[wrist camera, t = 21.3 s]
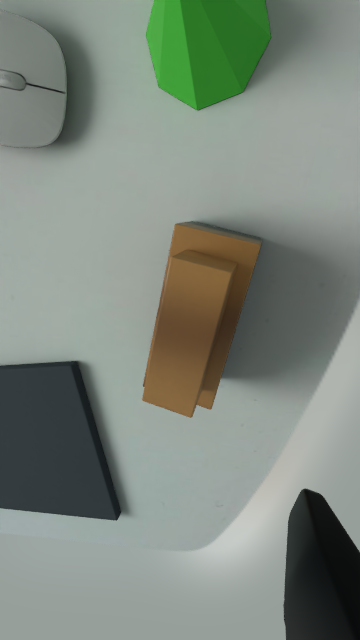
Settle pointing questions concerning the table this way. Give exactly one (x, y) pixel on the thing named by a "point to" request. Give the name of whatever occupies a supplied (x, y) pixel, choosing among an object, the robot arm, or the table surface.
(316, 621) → the robot arm
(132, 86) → the table surface
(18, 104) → the computer mouse
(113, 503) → the mat
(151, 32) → the gemstone
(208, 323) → the brush
